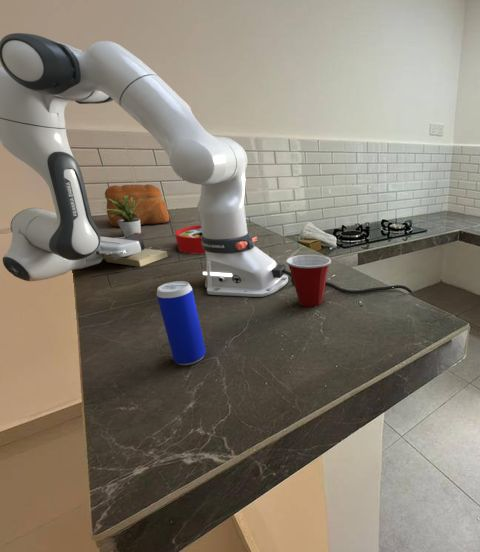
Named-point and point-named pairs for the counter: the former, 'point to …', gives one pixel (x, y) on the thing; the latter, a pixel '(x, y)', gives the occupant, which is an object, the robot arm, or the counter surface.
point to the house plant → (126, 216)
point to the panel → (140, 258)
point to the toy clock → (190, 240)
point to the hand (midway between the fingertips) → (129, 239)
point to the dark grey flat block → (136, 238)
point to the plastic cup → (309, 277)
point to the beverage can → (181, 322)
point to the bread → (148, 200)
